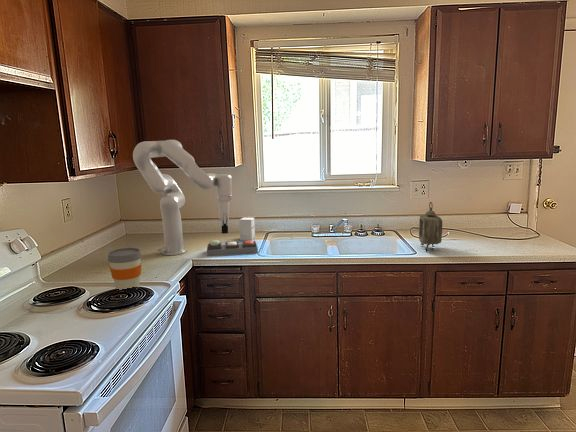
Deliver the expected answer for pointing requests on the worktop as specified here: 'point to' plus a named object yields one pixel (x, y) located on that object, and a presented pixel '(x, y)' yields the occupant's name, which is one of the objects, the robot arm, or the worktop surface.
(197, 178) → the robot arm
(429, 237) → the dark metal lantern
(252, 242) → the red button
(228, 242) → the ivory button
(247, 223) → the supplement box
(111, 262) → the reusable coffee cup
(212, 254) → the button panel
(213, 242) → the sage button
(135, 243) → the worktop surface
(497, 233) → the worktop surface
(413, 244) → the worktop surface
